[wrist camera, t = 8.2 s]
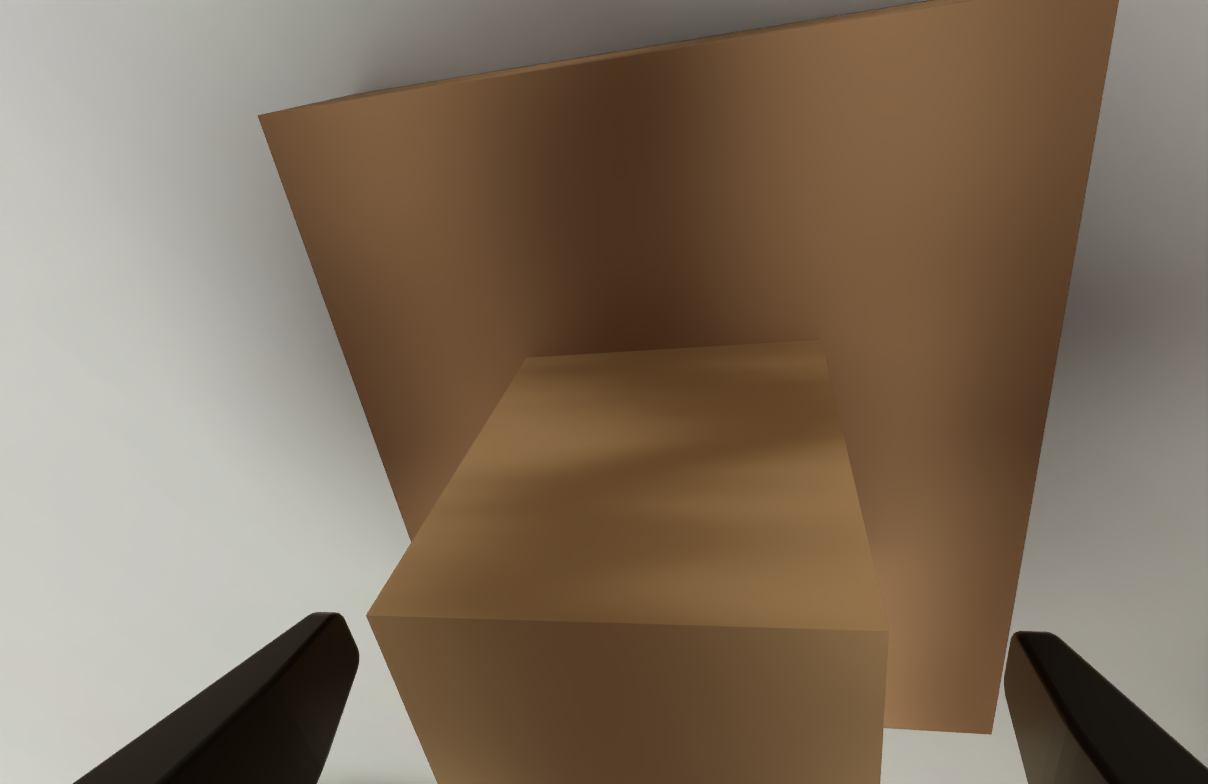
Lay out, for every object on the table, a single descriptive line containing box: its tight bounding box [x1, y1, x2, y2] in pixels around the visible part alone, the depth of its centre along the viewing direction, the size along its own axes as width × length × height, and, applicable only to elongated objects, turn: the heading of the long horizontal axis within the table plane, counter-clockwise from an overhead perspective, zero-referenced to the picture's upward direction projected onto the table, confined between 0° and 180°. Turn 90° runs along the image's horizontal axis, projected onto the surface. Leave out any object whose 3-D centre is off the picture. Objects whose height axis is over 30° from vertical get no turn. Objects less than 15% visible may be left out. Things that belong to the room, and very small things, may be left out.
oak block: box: [366, 340, 889, 784], centre depth 10 cm, size 5×5×6 cm
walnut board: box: [258, 0, 1119, 734], centre depth 14 cm, size 12×14×3 cm
